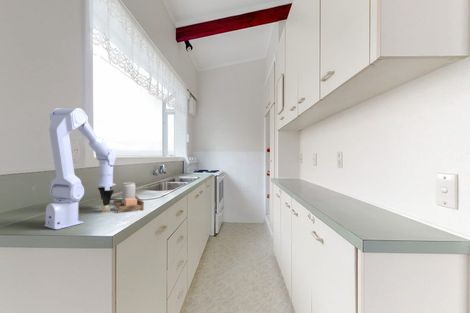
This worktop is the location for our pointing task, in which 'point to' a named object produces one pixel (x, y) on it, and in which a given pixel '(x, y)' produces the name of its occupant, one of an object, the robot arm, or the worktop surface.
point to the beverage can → (128, 190)
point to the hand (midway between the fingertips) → (105, 203)
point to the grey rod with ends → (126, 203)
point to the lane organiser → (128, 208)
